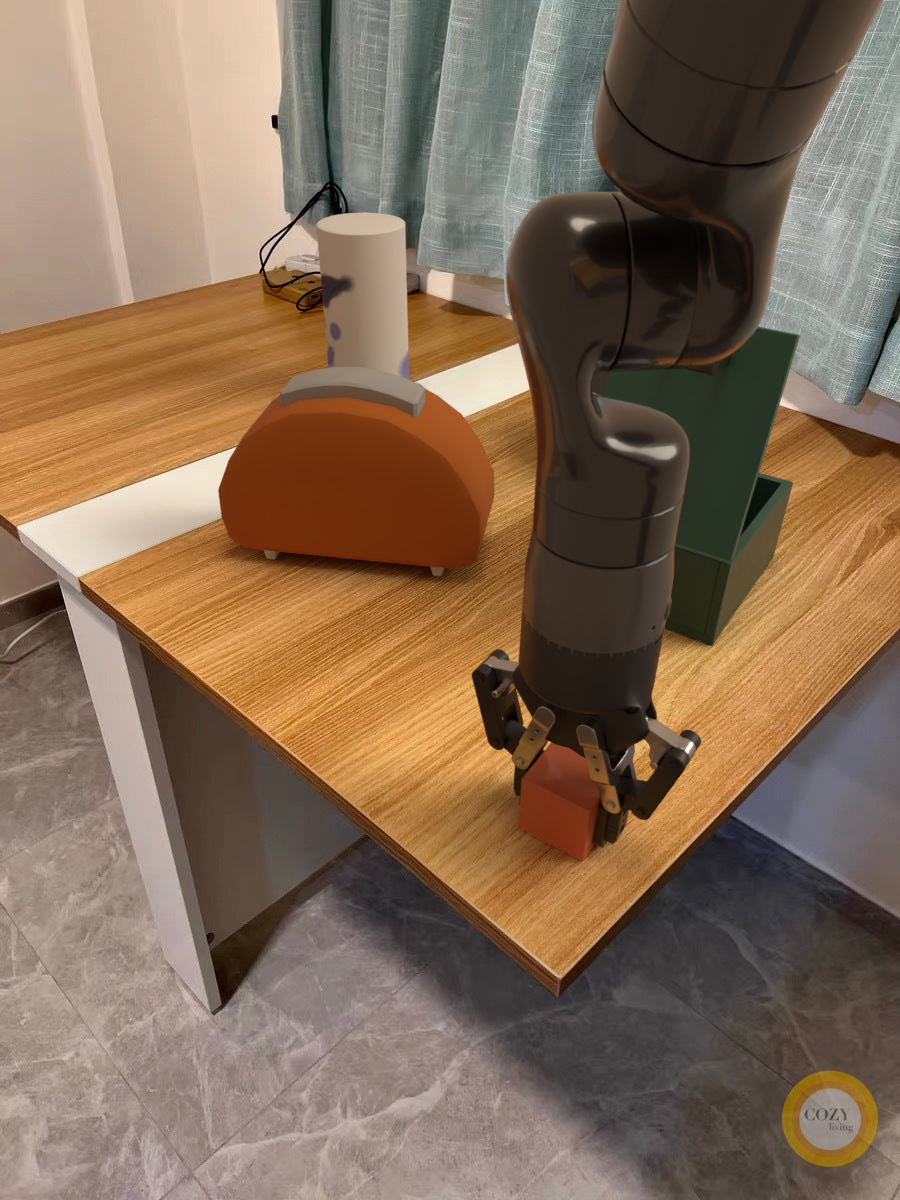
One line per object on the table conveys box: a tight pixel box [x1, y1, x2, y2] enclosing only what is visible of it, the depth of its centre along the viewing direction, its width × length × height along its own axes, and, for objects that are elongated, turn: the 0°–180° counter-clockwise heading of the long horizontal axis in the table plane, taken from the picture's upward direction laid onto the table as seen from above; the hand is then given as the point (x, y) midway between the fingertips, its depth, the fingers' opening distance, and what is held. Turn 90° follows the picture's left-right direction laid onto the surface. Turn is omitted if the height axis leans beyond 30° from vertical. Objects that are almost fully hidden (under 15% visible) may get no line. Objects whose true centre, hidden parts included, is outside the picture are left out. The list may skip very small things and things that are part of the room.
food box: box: [665, 472, 794, 646], centre depth 77 cm, size 16×13×8 cm
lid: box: [605, 326, 801, 561], centre depth 64 cm, size 16×13×5 cm
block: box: [517, 742, 601, 862], centre depth 55 cm, size 5×5×5 cm
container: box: [316, 212, 410, 380], centre depth 106 cm, size 10×10×20 cm
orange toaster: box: [217, 367, 495, 577], centre depth 78 cm, size 23×9×17 cm, turn 80°
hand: (567, 817), depth 56 cm, fingers closed on block, 4 cm apart
